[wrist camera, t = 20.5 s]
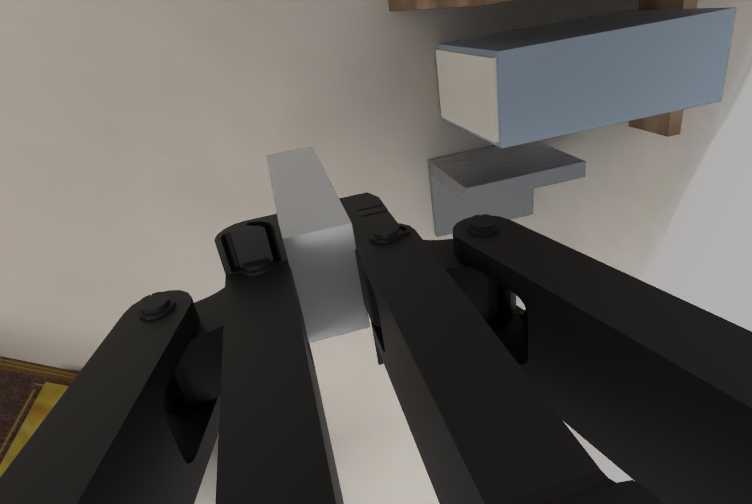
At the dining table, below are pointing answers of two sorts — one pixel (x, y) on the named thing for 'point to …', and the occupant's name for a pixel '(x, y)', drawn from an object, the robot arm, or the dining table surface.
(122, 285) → the dining table surface
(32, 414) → the book
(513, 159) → the bookend
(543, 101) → the boxed book
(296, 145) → the dining table surface
